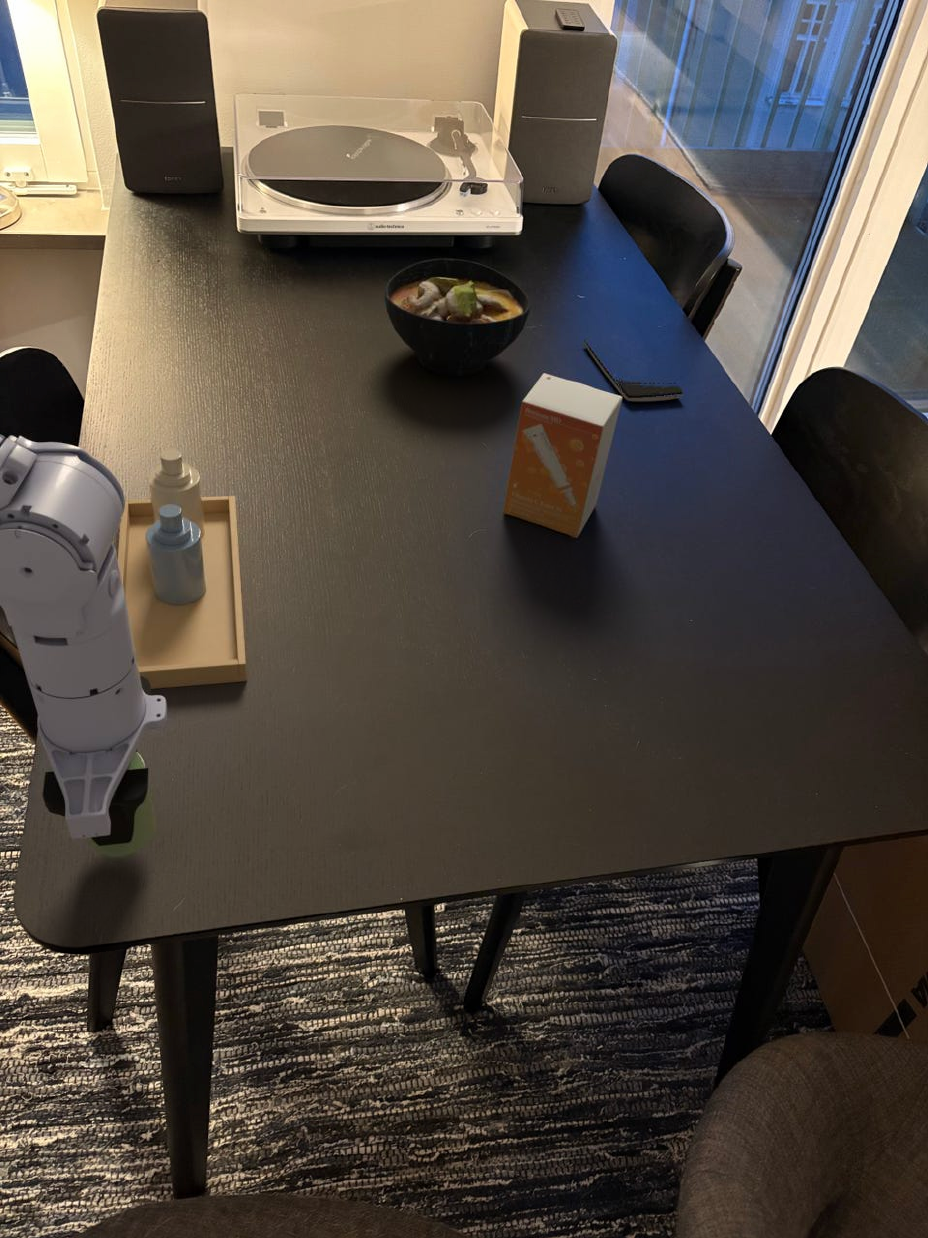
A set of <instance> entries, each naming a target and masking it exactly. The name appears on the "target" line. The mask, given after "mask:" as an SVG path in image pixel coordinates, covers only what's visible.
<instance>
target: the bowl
mask: <svg viewBox="0 0 928 1238" xmlns="http://www.w3.org/2000/svg"><path fill="white" fill-rule="evenodd" d="M384 303H385V308H386V309H385V310H386V312H387V315H388V318H389V320H390V322H391V325H392V327H393V329H394V330H395V332H396V333H397V335H398V336H399V337H400V339H401V340H402V341H403V342H404V344H405V345H406V346H407V347H408V348H410V349H411V350H412V351H413V352H414V353H415V356H416V358H417V359H418V361H419V363H420V364H421V365H422V366H423V367H424V368H425V369H427V370H429V371H431V372H433V373H436V374H439V375H444V376H453V377H463V376H464V377H466V376H470V375H475V374H476V373H479V372H481V371H482V370H483V369H484V368H485V367H486V366H487V364H488V363H489V362H490V361H491V360H493V359H495V358H496V357H497V356H499V355H501V354H502V353H503V352H504V351H505V350H506V349H507V348H509V347H510V346H511V345H513V343H514V342H516V339H518V337H519V336H520V334H521V333H522V331H523V330H524V327H525V324H526V323H527V320H528V317H529V314H530V308H531V300H530V298H529V296H528V295H527V293H526V292H525V290H524V289H523V288H522V287H520V285H518V284H517V283H516V282H514V280H512V279H510V278H509V277H507V275H505V274H504V273H502V272H501V271H498V270H496V269H494V268H492V267H491V266H488V265H485V264H482V263H479V262H476V261H471V260H465V259H459V258H433V259H427V260H423V261H419V262H417V263H416V262H415V263H413V264H410V265H408V266H406V267H405V268H403V269H401V270H399V271H398V272H396V273H395V274H394V275H393V276H391V278H390V279H389V280H388V281H387V284H386V285H385V289H384Z"/></svg>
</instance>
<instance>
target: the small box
mask: <svg viewBox="0 0 928 1238" xmlns="http://www.w3.org/2000/svg"><path fill="white" fill-rule="evenodd" d="M622 402H623V395H618V394H615V393H611V392H608V391H605V390H601V389H599V388H595V387H593V386H590V385H587V384H584V383H581V382H578V381H572V380H568V379H565V378H562V377H558V376H555V375H551V374H548V373H545V372H544V373H542V375H541V376H540V378H539V379H538V380H537V381H536V383H535V384H534V385H533V386H532V388H531V389H530V390H529V392H528V393H527V395H526V396H524V399H523V400H522V401H521V406H520V412H519V418H518V422H517V428H516V434H515V442H514V446H513V452H512V457H511V464H510V469H509V474H508V481H507V486H506V487H507V488H506V493H505V498H504V499H505V500H504V505H503V514H505V515H508V516H512V517H515V518H518V519H521V520H524V521H527V522H530V523H533V524H536V525H539V526H542V527H544V528H548V529H550V530H553V531H556V532H558V533H559V532H560V533H562V534H565V535H568V536H569V537H572V538H575V539H577V538H579V535H580V534H581V532H582V530H583V528H584V527H585V525H586V523H587V522H588V519H589V518H590V516H591V514H592V513H593V512H594V509H595V507H596V505H597V502H598V498H599V496H600V495H599V494H600V491H601V487H602V484H603V483H602V482H603V479H604V475H605V470H606V467H607V462H608V458H609V454H610V449H611V445H612V441H613V439H614V438H613V437H614V433H615V429H616V425H617V421H618V417H619V413H620V409H621V405H622Z"/></svg>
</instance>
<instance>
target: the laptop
mask: <svg viewBox="0 0 928 1238" xmlns="http://www.w3.org/2000/svg"><path fill="white" fill-rule="evenodd" d="M583 344H584V346H585V347H586V349H587V351H588V352H589V354H590V355H591V357H592V358H593V359H594V361H595V362H596V364H597V365H598V366H599V367H600V369H601V370H602V372H603V373H604V375H605V377H607V379H608V380H609V381H610V383H612V385H613V386H614V387H615V388H616V390H617V391H618V392H619V394H620V395H621V396H622V397H624V399H625V400H626V401H629V402H659V401H668V400H675V399H680V398H682V397H683V395H684V392H683V390H682V389H681V387H680V386H679V385H678V386H675V385H674V386H675V387H674V386H671V385H670V386H671V387H670V386H669V387H668V386H667V388H666V387H664V386H663V387H664V388H662V386H661V387H660V386H658V387H657V386H656V387H655V385H653V386H654V387H653V386H650V385H649V386H646V385H643V386H642V385H639V384H642V383H640V382H638V383H637V382H636V383H635V382H632V383H631V382H628V381H627V383H626V381H625V382H623V380H621V381H618V380H616V381H617V382H618V384H619V386H620V387H621V388H620V387H619V386H618V384H617V383H616V382H615V380H614V379H613V378H612V376H611V375H610V374H609V372H608V371H607V370H606V368H605V367H604V366H603V364H602V363H601V362H600V360H599V359H598V358H597V356H596V355H595V354H594V352H593V351H592V350H591V348H590V347H589V346H588V344H587V343H586V342H585V340H584V339H583ZM619 380H620V379H619ZM643 383H644V382H643ZM652 383H653V382H652ZM627 384H628V385H627ZM630 384H631V385H630ZM632 384H633V385H632ZM634 384H635V385H634ZM636 384H638V385H636ZM644 384H647V383H644ZM649 384H651V383H649ZM653 384H655V383H653ZM658 384H660V383H658ZM663 384H664V383H663ZM667 384H668V383H667ZM669 384H672V383H669ZM673 384H677V383H676V382H675V383H673ZM651 385H652V384H651ZM644 386H646V387H644ZM621 389H622V390H621ZM624 393H625V394H624ZM682 393H683V395H676V394H682ZM671 394H672V395H674V394H675V396H667V395H671ZM664 395H666V397H656V396H664ZM653 396H654V397H653ZM643 397H653V398H643Z"/></svg>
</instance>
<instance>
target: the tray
mask: <svg viewBox="0 0 928 1238" xmlns="http://www.w3.org/2000/svg"><path fill="white" fill-rule="evenodd" d="M236 502H237V501H236V496H235V495H222V496H221V495H219V496H202V504H203V513H204V523H205V533H204V535H203V536H202V538H201V539H202V548H203V557H204V566H205V575H206V584H207V588H206V591H205V593H204V595H203V596H202V597H201V598H200V599H198V600H197V601H195V602H193V603H190V604H186V605H170V604H166V603H164V602H162V601H160V600H159V599H158V598H157V597H156V595H155V593H154V589H153V582H152V576H151V570H150V564H149V557H148V551H147V545H146V539H145V535H146V532H147V530H148V528H149V527H150V526H151V525H153V524H154V518H153V512H152V505H151V498H148V499H145V498H144V499H129V500H128V499H126V500H125V508H124V512H123V515H122V521H121V524H120V526H119V532H118V534H119V535H118V549H117V559H118V564H119V570H120V575H121V580H122V584H123V588H124V592H125V598H126V604H127V609H128V614H129V620H130V625H131V631H132V636H133V642H134V647H135V653H136V659H137V664H138V669H139V674H140V676H143V677H145V678H147V679H148V680H149V682H150V686H151V690H154V689H155V690H156V689H164V688H165V689H167V688H177V687H179V688H180V687H190V686H191V687H192V686H203V685H217V684H228V683H238V682H239V683H241V682H247V681H248V673H247V672H248V669H247V660H246V659H247V657H246V641H245V625H244V612H243V611H244V609H243V593H242V580H241V579H242V578H241V562H240V549H239V547H240V546H239V533H238V519H237V518H238V516H237V504H236Z"/></svg>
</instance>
